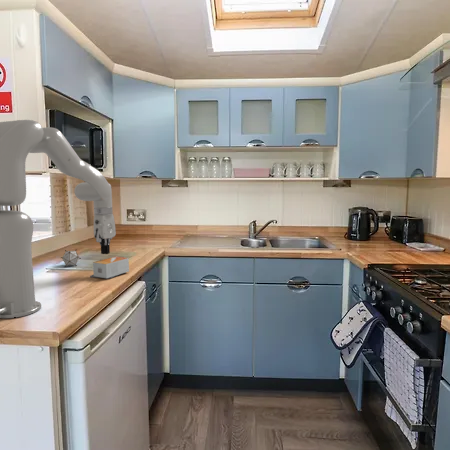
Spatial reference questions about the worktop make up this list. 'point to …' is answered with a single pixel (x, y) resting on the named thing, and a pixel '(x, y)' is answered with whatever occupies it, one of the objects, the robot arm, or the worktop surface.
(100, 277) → the rubber mat
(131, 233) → the worktop surface
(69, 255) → the game die
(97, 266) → the small box
